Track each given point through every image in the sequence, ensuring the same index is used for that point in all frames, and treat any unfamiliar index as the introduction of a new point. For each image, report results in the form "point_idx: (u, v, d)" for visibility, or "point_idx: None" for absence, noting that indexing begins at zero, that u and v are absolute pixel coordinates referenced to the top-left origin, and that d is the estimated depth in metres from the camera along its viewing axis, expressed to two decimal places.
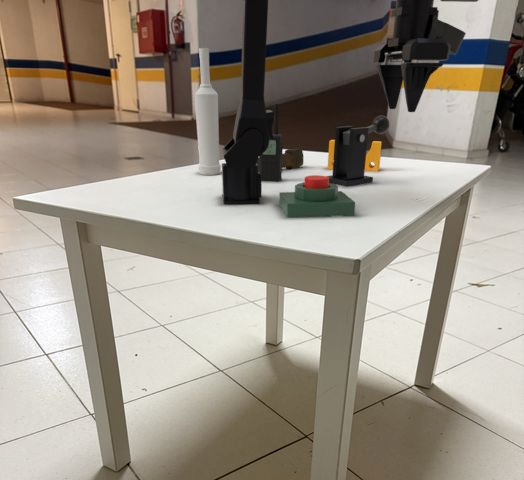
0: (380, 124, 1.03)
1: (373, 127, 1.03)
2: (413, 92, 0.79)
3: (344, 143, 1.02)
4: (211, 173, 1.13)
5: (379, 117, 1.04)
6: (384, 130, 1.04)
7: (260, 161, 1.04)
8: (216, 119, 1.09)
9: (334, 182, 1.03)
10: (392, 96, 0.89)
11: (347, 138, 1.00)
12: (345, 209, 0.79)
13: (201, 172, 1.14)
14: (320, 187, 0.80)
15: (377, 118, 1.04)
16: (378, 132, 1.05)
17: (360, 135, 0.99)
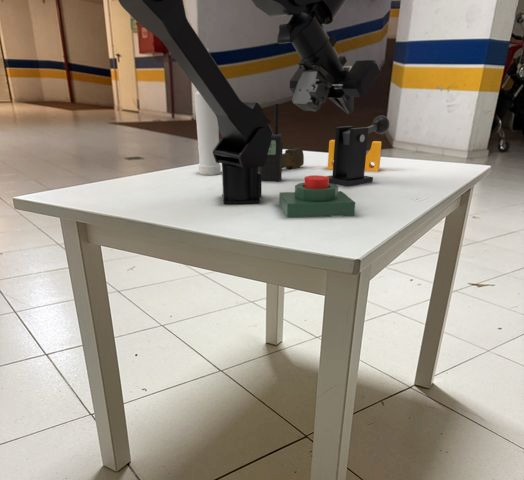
0: (380, 124, 1.03)
1: (373, 127, 1.03)
2: None
3: (344, 143, 1.02)
4: (211, 173, 1.13)
5: (379, 117, 1.04)
6: (384, 130, 1.04)
7: None
8: (216, 119, 1.09)
9: (334, 182, 1.03)
10: None
11: (347, 138, 1.00)
12: (345, 209, 0.79)
13: (201, 172, 1.14)
14: (320, 187, 0.80)
15: (377, 118, 1.04)
16: (378, 132, 1.05)
17: (360, 135, 0.99)
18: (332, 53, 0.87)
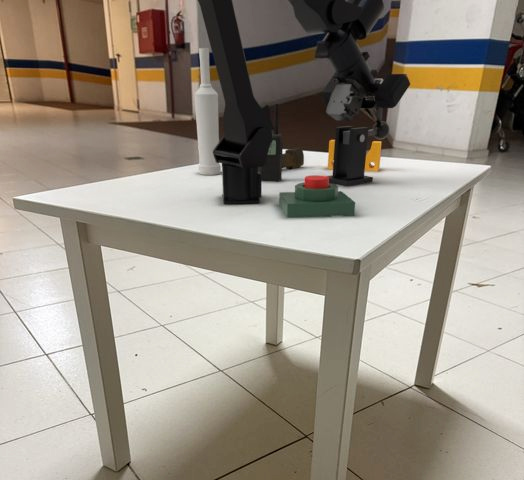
0: (380, 129, 1.04)
1: (373, 131, 1.04)
2: None
3: (344, 142, 1.01)
4: (211, 173, 1.13)
5: (380, 122, 1.04)
6: (384, 135, 1.05)
7: None
8: (216, 119, 1.09)
9: (334, 182, 1.03)
10: None
11: (347, 137, 1.00)
12: (345, 209, 0.79)
13: (201, 172, 1.14)
14: (320, 187, 0.80)
15: (378, 123, 1.04)
16: (377, 137, 1.05)
17: (360, 135, 0.99)
18: (365, 67, 0.93)
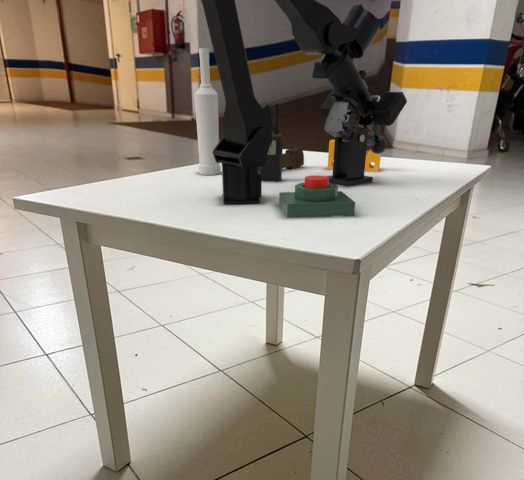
0: (379, 142, 1.05)
1: (372, 141, 1.05)
2: None
3: (343, 140, 1.01)
4: (211, 173, 1.13)
5: (379, 136, 1.06)
6: (381, 149, 1.06)
7: None
8: (216, 119, 1.09)
9: (334, 182, 1.03)
10: None
11: None
12: (345, 209, 0.79)
13: (201, 172, 1.14)
14: (320, 187, 0.80)
15: None
16: (374, 150, 1.06)
17: (360, 135, 0.99)
18: (362, 85, 0.94)
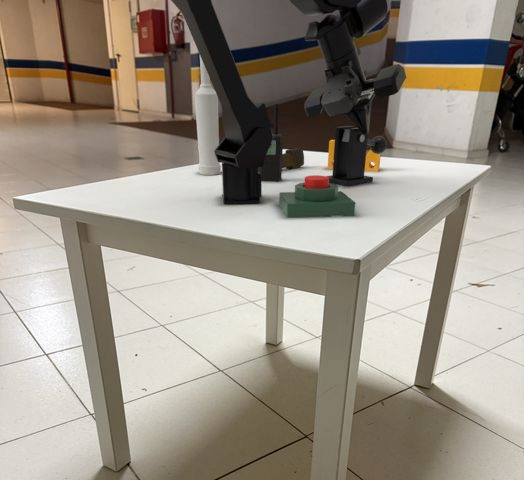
0: (379, 142, 1.05)
1: (372, 141, 1.05)
2: None
3: (343, 140, 1.01)
4: (211, 173, 1.13)
5: (379, 136, 1.06)
6: (381, 149, 1.06)
7: None
8: (216, 119, 1.09)
9: (334, 182, 1.03)
10: None
11: (347, 135, 1.00)
12: (345, 209, 0.79)
13: (201, 172, 1.14)
14: (320, 187, 0.80)
15: (377, 136, 1.06)
16: (374, 150, 1.06)
17: (360, 135, 0.99)
18: (359, 60, 0.88)
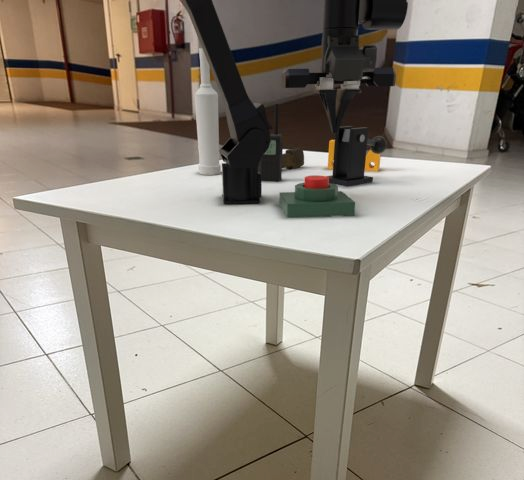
0: (379, 142, 1.05)
1: (372, 141, 1.05)
2: (328, 115, 0.87)
3: (343, 140, 1.01)
4: (211, 173, 1.13)
5: (379, 136, 1.06)
6: (381, 149, 1.06)
7: (260, 161, 1.04)
8: (216, 119, 1.09)
9: (334, 182, 1.03)
10: None
11: (347, 135, 1.00)
12: (345, 209, 0.79)
13: (201, 172, 1.14)
14: (320, 187, 0.80)
15: (377, 136, 1.06)
16: (374, 150, 1.06)
17: (360, 135, 0.99)
18: None
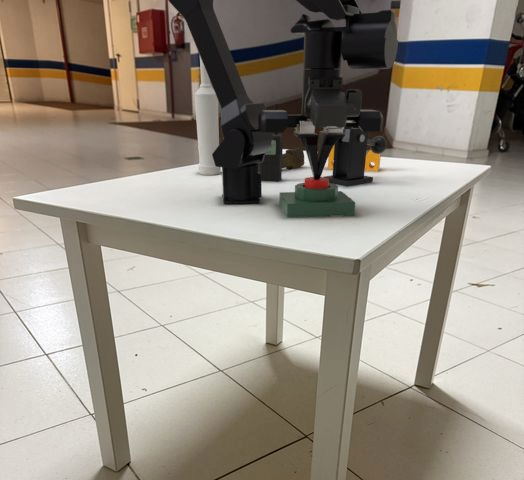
0: (379, 142, 1.05)
1: (372, 141, 1.05)
2: (309, 159, 0.80)
3: (343, 140, 1.01)
4: (211, 173, 1.13)
5: (379, 136, 1.06)
6: (381, 149, 1.06)
7: None
8: (216, 119, 1.09)
9: (334, 182, 1.03)
10: None
11: (347, 135, 1.00)
12: (345, 209, 0.79)
13: (201, 172, 1.14)
14: (320, 188, 0.80)
15: (377, 136, 1.06)
16: (374, 150, 1.06)
17: (360, 135, 0.99)
18: None
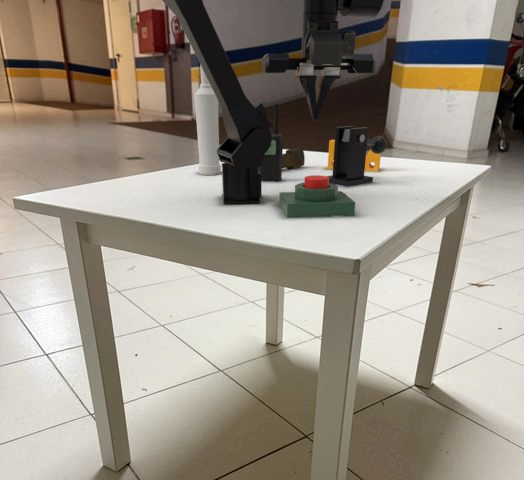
0: (379, 142, 1.05)
1: (372, 141, 1.05)
2: (308, 101, 0.88)
3: (343, 140, 1.01)
4: (211, 173, 1.13)
5: (379, 136, 1.06)
6: (381, 149, 1.06)
7: None
8: (216, 119, 1.09)
9: (334, 182, 1.03)
10: None
11: (347, 135, 1.00)
12: (345, 209, 0.79)
13: (201, 172, 1.14)
14: (320, 187, 0.80)
15: (377, 136, 1.06)
16: (374, 150, 1.06)
17: (360, 135, 0.99)
18: None
